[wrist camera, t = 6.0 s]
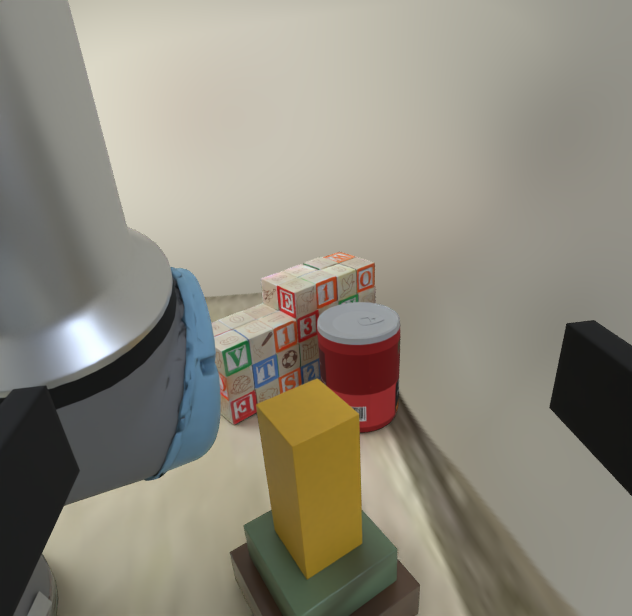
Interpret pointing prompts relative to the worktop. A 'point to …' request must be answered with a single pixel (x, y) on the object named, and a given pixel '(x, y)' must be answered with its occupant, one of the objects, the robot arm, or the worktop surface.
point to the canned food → (362, 359)
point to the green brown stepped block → (323, 577)
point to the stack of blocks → (284, 330)
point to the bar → (313, 473)
